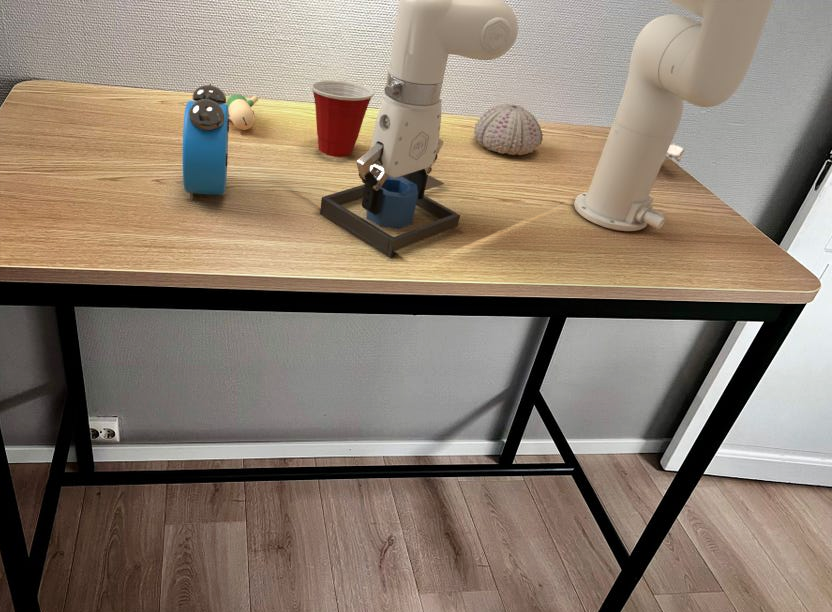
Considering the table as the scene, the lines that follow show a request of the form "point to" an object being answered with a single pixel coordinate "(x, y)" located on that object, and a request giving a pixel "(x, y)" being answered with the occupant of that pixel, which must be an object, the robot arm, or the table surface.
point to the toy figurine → (241, 111)
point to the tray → (375, 235)
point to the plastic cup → (339, 114)
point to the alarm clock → (205, 142)
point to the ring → (396, 204)
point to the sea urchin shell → (508, 130)
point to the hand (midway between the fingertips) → (392, 203)
